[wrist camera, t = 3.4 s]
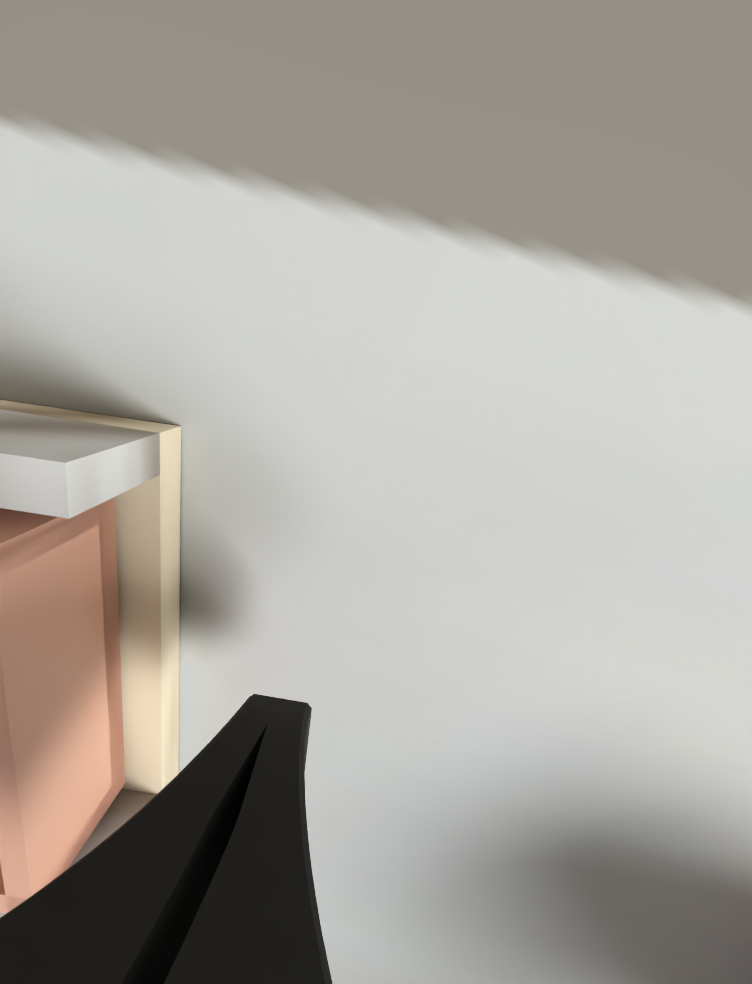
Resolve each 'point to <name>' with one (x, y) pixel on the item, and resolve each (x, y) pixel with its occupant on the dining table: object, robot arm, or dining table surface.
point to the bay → (140, 562)
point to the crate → (56, 691)
